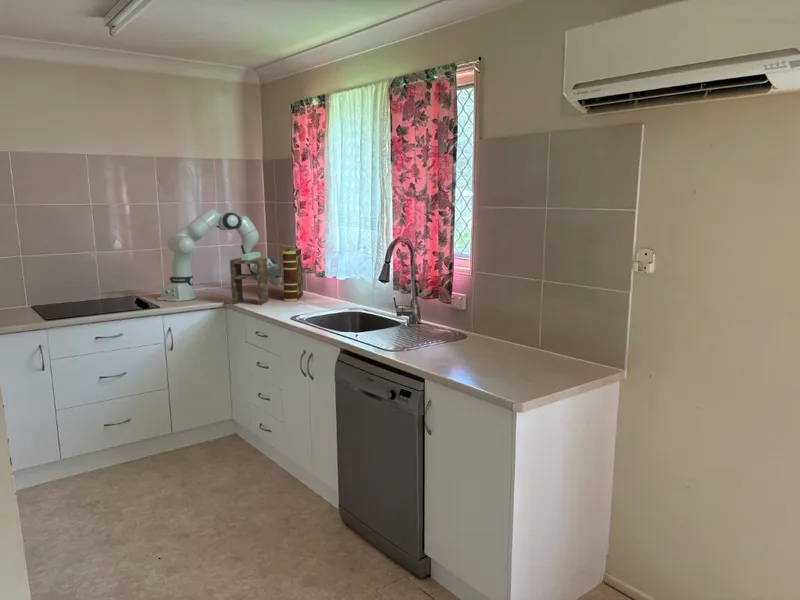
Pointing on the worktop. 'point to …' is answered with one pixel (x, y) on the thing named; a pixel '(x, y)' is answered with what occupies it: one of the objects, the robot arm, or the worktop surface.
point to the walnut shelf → (238, 276)
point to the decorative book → (292, 275)
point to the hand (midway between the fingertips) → (262, 263)
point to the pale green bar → (250, 256)
